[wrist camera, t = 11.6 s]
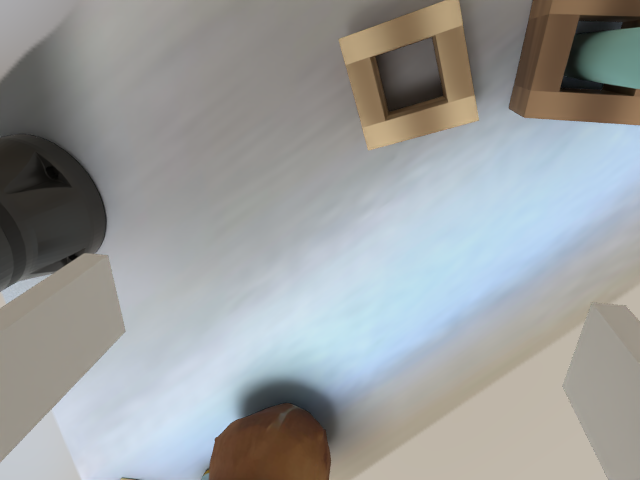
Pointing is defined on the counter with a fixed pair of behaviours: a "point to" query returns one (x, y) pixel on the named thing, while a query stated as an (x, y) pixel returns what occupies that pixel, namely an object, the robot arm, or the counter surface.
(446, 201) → the counter surface
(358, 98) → the light wooden square frame
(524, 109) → the brown wooden square frame
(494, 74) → the counter surface
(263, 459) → the butternut squash
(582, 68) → the teal cylindrical rod
